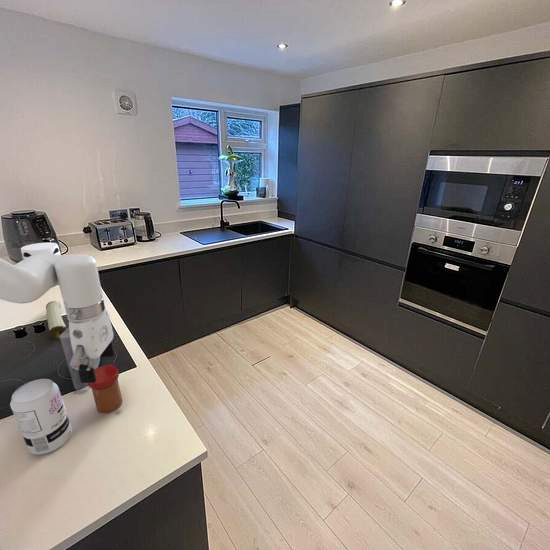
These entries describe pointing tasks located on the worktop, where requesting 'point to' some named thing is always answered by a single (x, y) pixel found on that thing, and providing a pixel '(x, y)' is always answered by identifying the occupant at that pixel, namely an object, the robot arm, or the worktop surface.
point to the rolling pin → (55, 320)
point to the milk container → (40, 249)
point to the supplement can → (41, 415)
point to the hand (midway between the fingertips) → (99, 368)
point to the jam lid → (104, 376)
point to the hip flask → (69, 354)
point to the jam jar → (108, 398)
